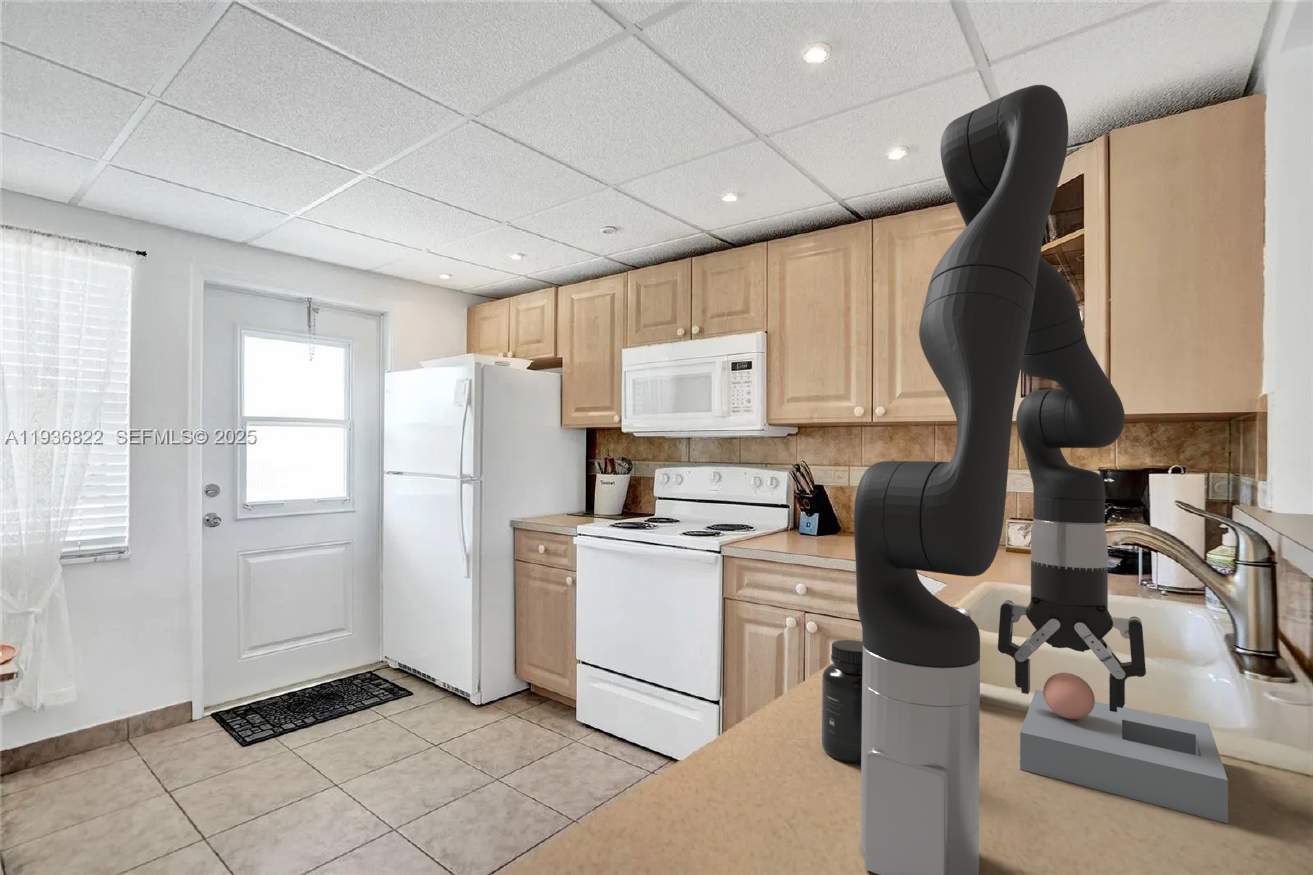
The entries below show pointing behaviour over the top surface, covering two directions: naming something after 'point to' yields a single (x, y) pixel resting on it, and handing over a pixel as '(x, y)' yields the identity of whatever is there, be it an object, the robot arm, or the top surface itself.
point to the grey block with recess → (1129, 756)
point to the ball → (1069, 696)
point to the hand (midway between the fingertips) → (1068, 700)
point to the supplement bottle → (843, 702)
